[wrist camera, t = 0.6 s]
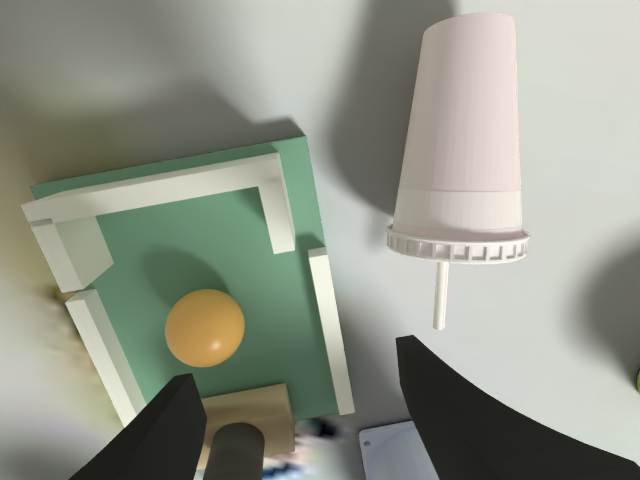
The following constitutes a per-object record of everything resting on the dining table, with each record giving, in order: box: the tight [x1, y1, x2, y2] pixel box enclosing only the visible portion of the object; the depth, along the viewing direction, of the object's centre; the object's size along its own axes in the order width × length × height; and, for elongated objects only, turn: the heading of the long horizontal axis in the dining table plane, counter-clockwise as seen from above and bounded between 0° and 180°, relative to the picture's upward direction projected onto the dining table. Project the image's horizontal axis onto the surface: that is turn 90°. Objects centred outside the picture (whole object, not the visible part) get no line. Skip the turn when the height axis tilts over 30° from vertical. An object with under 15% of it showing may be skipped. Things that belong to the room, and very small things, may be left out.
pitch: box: [20, 135, 355, 427], centre depth 20 cm, size 18×14×4 cm
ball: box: [165, 289, 245, 367], centre depth 19 cm, size 4×4×4 cm
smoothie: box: [386, 13, 531, 330], centre depth 17 cm, size 6×6×14 cm
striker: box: [196, 383, 295, 480], centre depth 20 cm, size 3×6×6 cm, turn 100°
